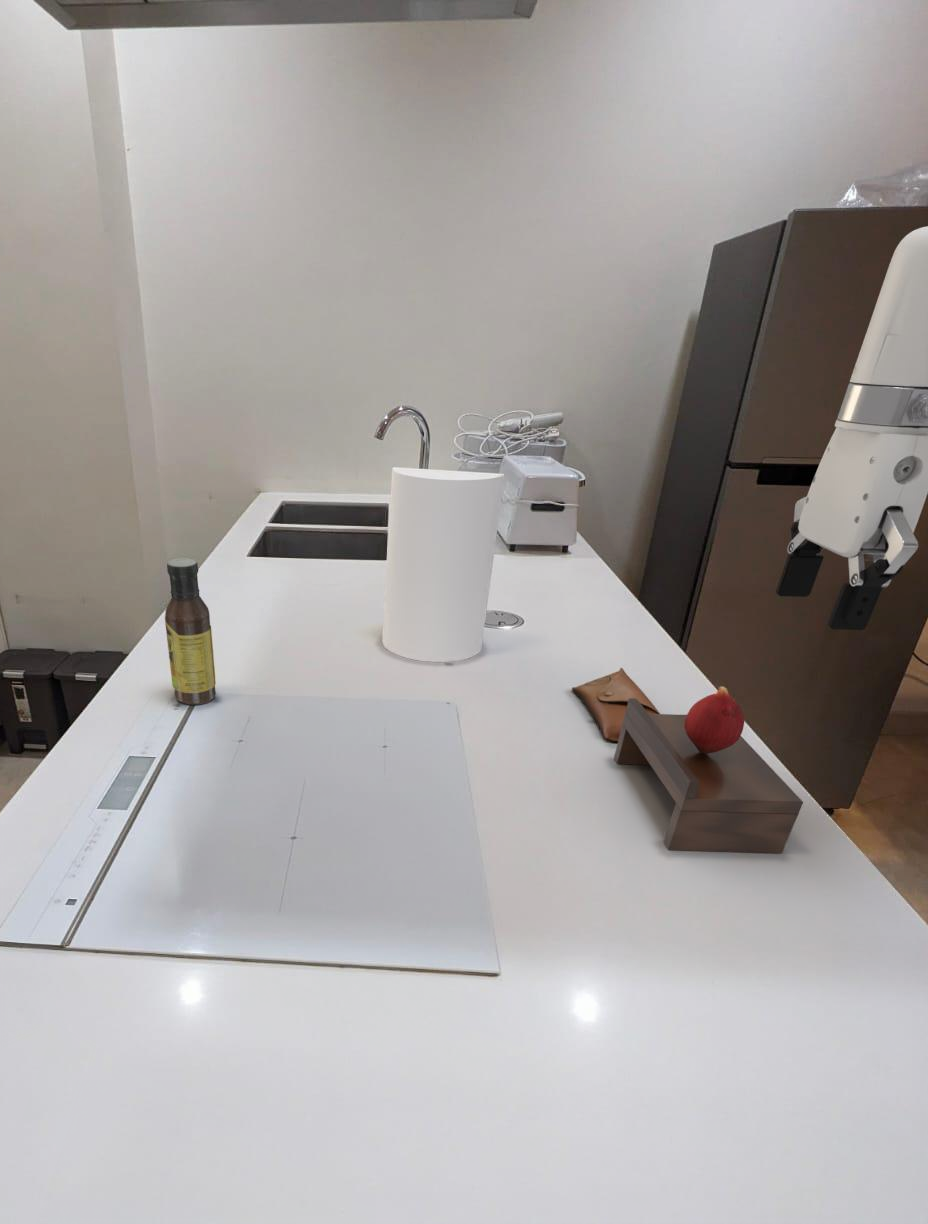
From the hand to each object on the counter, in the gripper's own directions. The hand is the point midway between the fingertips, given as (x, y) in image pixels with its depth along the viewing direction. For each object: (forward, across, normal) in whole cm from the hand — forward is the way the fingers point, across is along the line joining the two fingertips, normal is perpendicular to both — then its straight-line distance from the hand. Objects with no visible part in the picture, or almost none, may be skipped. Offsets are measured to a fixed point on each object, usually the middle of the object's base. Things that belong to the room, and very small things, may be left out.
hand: (817, 611), depth 72 cm
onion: (+18, +4, +4) cm, 19 cm away
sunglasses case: (+24, +27, +6) cm, 37 cm away
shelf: (+24, +4, +4) cm, 25 cm away
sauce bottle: (+24, +29, +67) cm, 77 cm away
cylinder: (+24, +54, +30) cm, 66 cm away
